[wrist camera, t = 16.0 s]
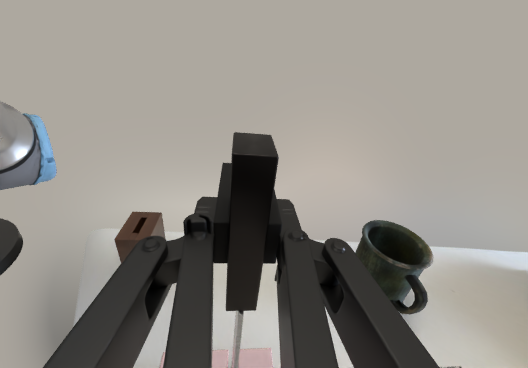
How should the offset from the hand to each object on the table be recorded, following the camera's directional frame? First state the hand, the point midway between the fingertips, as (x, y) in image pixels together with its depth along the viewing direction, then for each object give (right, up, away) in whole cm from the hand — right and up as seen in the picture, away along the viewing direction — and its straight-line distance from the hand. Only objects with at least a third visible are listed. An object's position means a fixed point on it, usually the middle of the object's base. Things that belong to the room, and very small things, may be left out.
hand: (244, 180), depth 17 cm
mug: (+23, -21, +27) cm, 41 cm away
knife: (-1, -18, +4) cm, 19 cm away
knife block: (-20, -16, +27) cm, 37 cm away
